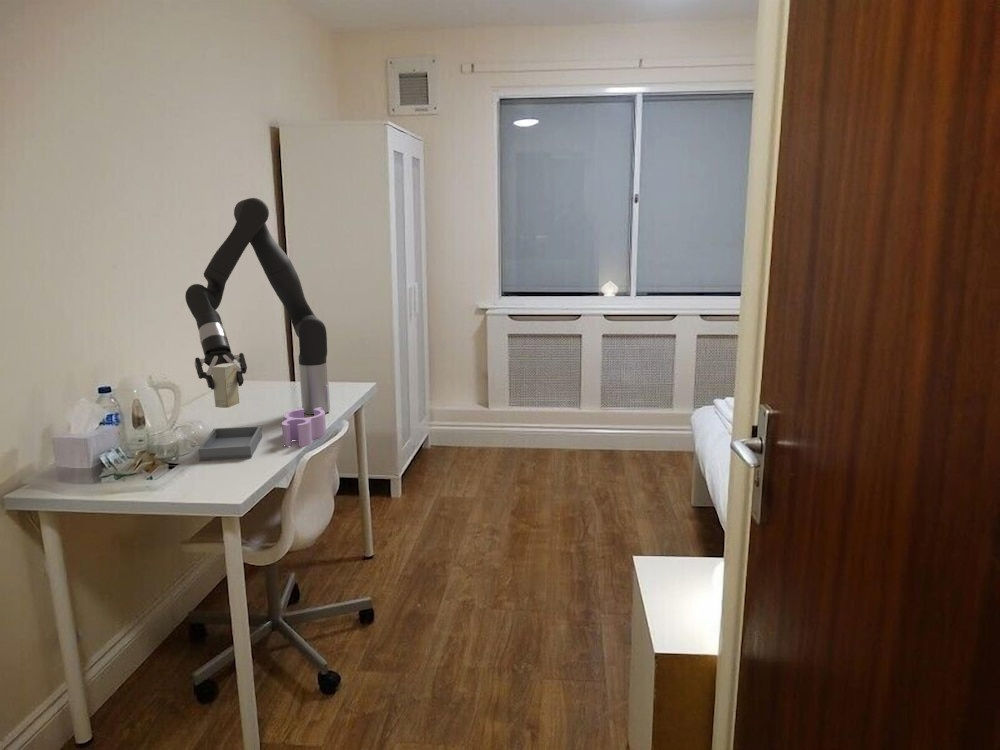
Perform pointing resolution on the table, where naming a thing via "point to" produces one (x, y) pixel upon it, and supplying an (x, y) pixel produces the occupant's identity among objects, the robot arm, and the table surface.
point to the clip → (303, 426)
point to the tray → (230, 443)
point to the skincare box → (225, 385)
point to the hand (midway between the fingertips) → (227, 386)
